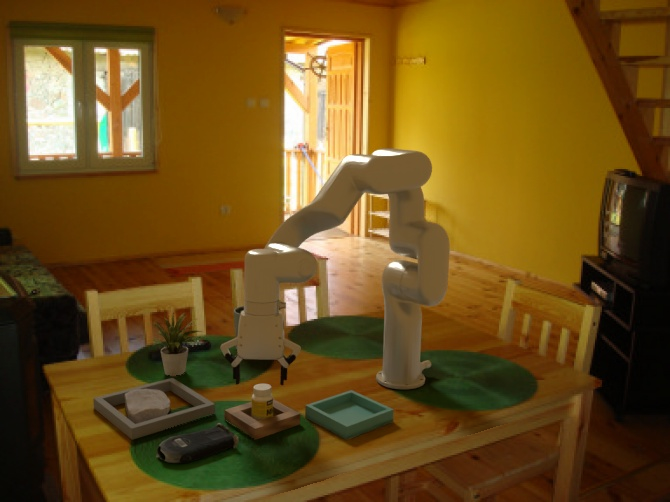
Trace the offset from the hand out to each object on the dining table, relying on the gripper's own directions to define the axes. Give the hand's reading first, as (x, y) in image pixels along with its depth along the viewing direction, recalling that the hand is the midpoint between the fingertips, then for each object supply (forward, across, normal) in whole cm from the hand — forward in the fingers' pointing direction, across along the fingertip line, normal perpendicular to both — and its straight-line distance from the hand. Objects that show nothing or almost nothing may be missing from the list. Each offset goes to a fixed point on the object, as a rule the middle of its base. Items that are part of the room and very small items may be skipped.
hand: (260, 382), depth 153 cm
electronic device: (+10, +12, +12) cm, 20 cm away
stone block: (+10, +25, -6) cm, 28 cm away
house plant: (+10, +24, -29) cm, 39 cm away
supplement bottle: (+10, -1, 0) cm, 10 cm away
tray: (+9, -20, -2) cm, 22 cm away
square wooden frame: (+9, -1, 0) cm, 9 cm away
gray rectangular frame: (+10, +24, -6) cm, 27 cm away
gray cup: (+9, +5, -48) cm, 49 cm away
